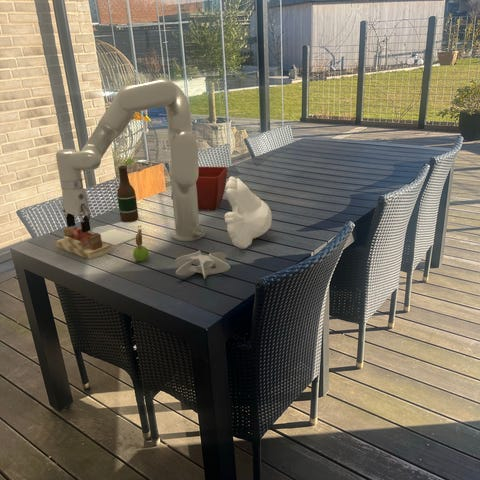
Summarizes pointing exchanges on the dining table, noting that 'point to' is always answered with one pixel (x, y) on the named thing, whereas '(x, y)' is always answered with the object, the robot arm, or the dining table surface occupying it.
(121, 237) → the mat
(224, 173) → the plant pot
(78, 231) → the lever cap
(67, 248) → the body
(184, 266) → the sculpture
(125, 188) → the beer bottle
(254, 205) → the white bear figurine
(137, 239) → the snail figurine
